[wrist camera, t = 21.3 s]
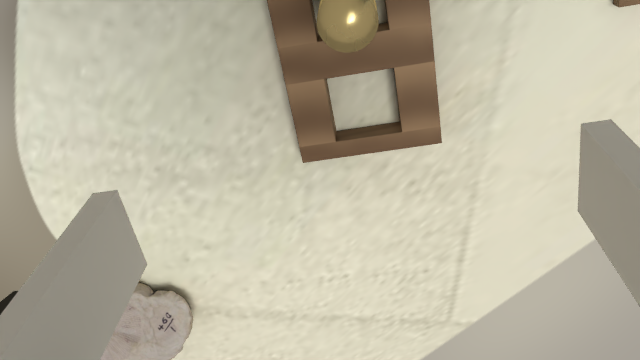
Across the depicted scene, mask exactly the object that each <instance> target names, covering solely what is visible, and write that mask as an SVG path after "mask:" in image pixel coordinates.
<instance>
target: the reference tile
mask: <svg viewBox="0 0 640 360" xmlns="http://www.w3.org/2000/svg"><path fill="white" fill-rule="evenodd" d="M613 4H614V5H616V6H617V7H624V6H630V5H636V4H640V0H613Z"/></svg>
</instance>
